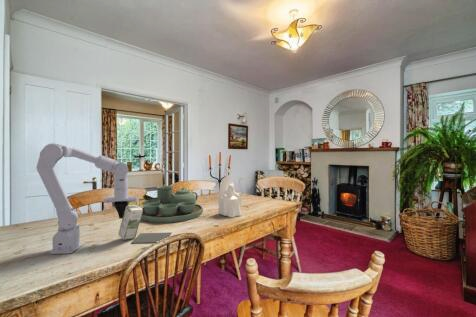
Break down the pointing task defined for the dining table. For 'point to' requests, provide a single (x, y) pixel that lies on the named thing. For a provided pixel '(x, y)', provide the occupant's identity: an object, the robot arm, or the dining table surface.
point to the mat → (150, 237)
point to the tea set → (171, 206)
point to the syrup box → (130, 222)
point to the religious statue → (229, 197)
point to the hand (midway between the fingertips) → (121, 217)
